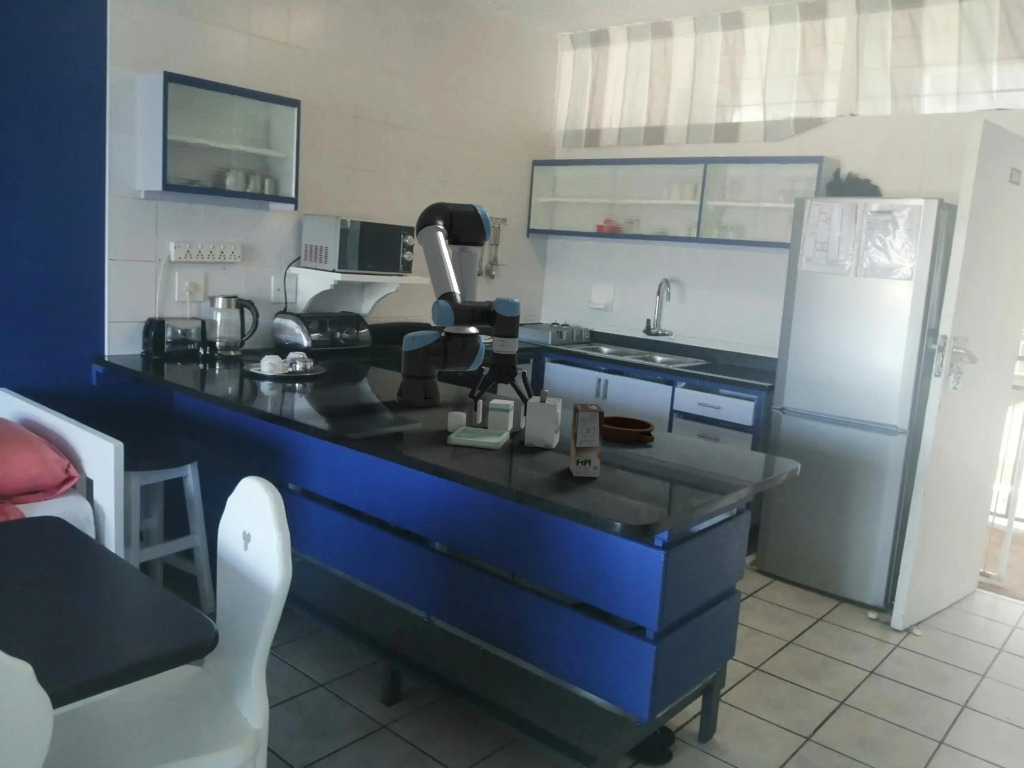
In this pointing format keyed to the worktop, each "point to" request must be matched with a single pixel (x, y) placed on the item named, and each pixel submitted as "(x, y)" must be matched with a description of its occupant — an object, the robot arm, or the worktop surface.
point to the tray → (478, 437)
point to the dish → (627, 430)
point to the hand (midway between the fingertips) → (500, 424)
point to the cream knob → (456, 420)
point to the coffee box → (586, 440)
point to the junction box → (543, 421)
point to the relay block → (500, 415)
